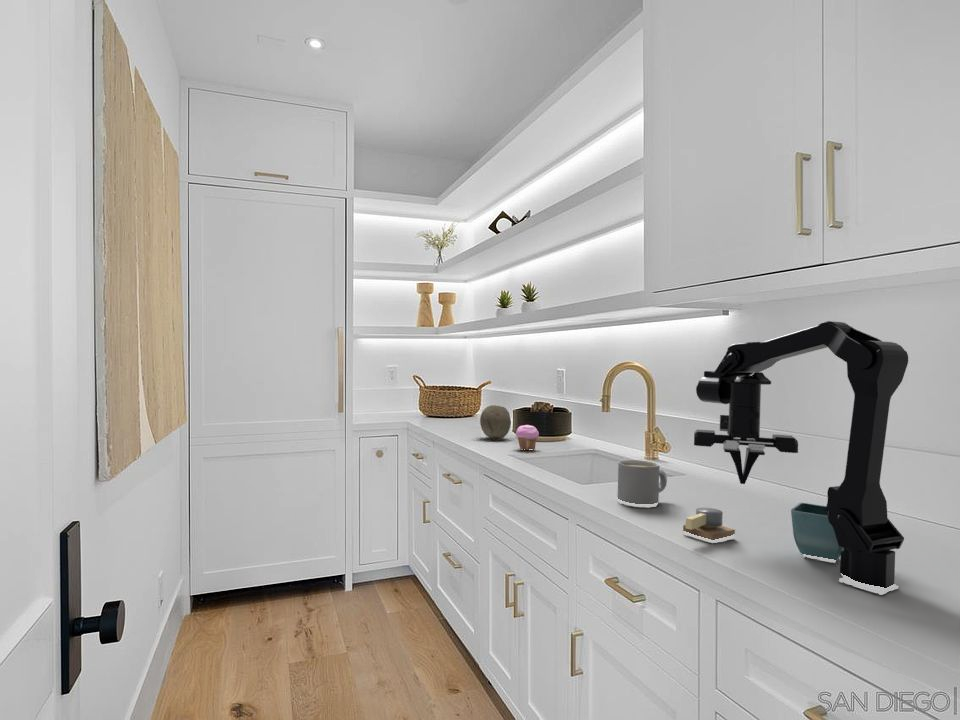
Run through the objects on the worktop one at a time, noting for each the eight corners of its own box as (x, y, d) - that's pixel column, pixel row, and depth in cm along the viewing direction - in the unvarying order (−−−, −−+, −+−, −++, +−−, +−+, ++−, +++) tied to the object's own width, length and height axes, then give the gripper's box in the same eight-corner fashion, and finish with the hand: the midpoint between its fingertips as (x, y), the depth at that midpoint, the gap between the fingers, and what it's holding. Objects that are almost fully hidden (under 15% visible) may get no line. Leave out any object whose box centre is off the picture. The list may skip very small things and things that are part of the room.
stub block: (734, 539, 116) (734, 526, 116) (712, 544, 112) (713, 531, 112) (704, 530, 122) (705, 518, 122) (683, 534, 118) (683, 522, 118)
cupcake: (527, 452, 218) (527, 426, 218) (510, 449, 224) (511, 424, 224) (542, 450, 224) (543, 425, 224) (526, 447, 230) (527, 422, 230)
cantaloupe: (517, 440, 250) (518, 406, 250) (489, 442, 243) (490, 407, 243) (500, 436, 262) (501, 403, 262) (473, 437, 255) (474, 404, 255)
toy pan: (700, 533, 109) (701, 520, 109) (676, 527, 113) (676, 514, 113) (726, 523, 117) (726, 511, 117) (703, 518, 120) (703, 506, 120)
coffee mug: (627, 508, 138) (629, 467, 138) (610, 498, 148) (612, 460, 148) (678, 507, 140) (679, 466, 140) (658, 497, 150) (659, 459, 150)
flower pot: (798, 547, 112) (799, 501, 112) (852, 558, 106) (853, 509, 106) (788, 558, 105) (790, 509, 105) (845, 570, 100) (846, 519, 100)
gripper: (790, 406, 119) (788, 480, 120) (695, 401, 126) (693, 472, 126) (799, 410, 109) (797, 491, 109) (695, 404, 116) (692, 481, 116)
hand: (742, 483), depth 115 cm, fingers closed
